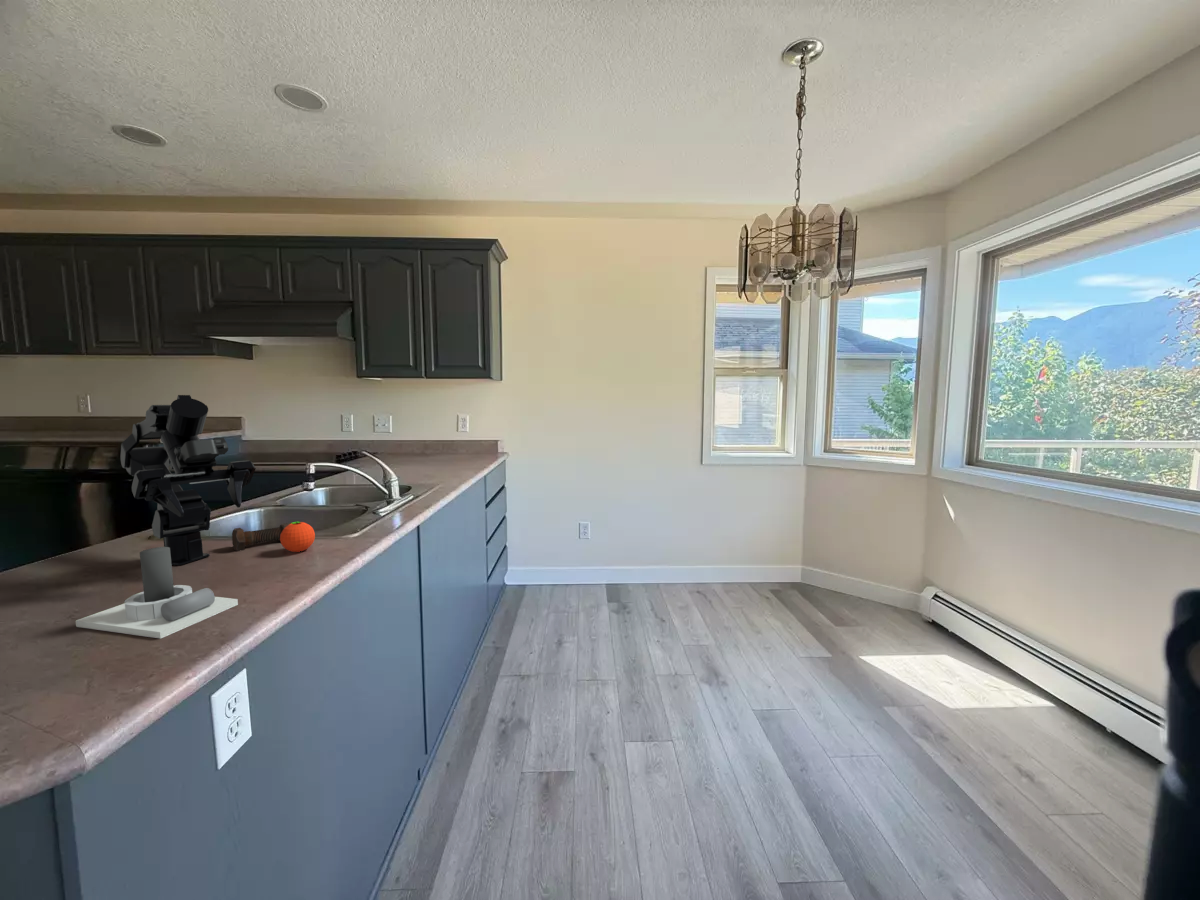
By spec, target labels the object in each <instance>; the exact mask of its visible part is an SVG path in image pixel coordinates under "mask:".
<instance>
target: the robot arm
mask: <svg viewBox="0 0 1200 900" xmlns="http://www.w3.org/2000/svg"><path fill="white" fill-rule="evenodd" d="M208 412H209V407H208V405H207V404H205V403H203V402H202V401H200V400H198V399H195V398H192V396H191V394H178V395H177V397H176V399H174V400H173V401H172V402H171V404H151V405H150V406H149V408H148V409H147V410H146V411H145V419H144V420H142V421H141V422H140V421H139V422H137V423H133V425H132V430H131V431H132V432H131V434H130V435H129V436H128V437H126V439H124V441H122V442H121V444H120V464H121V467H122V468H123V469H125V470H126V472H127V473H128V475H130V476H132V477H133V481H132V484H131V492H132V494H133V497H134V499H136V500H142V499H143V500H145V501H146V502H154V503H155V504H156V503H157V509H156V510H155V511H154V515H153V519H152V524H151V529H152V532H153V533H152V534H153V536H154V537H155V538H158V539H159V540H160V539H163V547H169V548H170V554H171V564H172V565H174V566H182V565H185V564H188V563H193V562H195V561H198V560H200V559H201V560H202V559H204V558H209V557H210V556H211V555H210V553H205V552H204V548H203V539H202V536H201V533H202V531H203V532H204V531H209V530H210V526H211V525H210V524H211V514H212V509H211V508H210V507H209V505H208V503H206V502H204V500H203V497H202V496H200V494H199V493H198V491H197V490H196V489H186V490H185V489H184V490H183V487H182V486H181V485H187V484H189V485H193V484H201V483H202V484H203V483H211V482H217V481H224V482H225V484H226V486H227V491H228V493H229V495H230V497H231V500H232V502H233V503H234V505H235V506H236V508H238V509H239V508H240V507H241V506H242V491H243V489H244V488H245V486H247V485H248V486H249V484H250V483H251V481H252V479H253V477H254V473H255V471H256V466H255V465H254V462H252V461H251V460H237V461H229V463H228V464H227V468H226V469H218V470H214V468H213V467H216V465H217V463H218V462H217V460H216V457H219V456H221V455H226V453H227V452H228V451H229V446H228V442H227V441H226V438H225V437H213V439H200V437H199V436H198V435H201V434H202V433H203V430H204V427H205V424H206V421H207V420H206V419H207V417H208ZM143 440H147V441H148V440H160V441H161V443H162V444H163V446H149V447H148V446H145V447H136V446H137V445H138V444H139V443H140V441H143ZM170 469H171V470H174V473H172V472H171V470H170Z"/></svg>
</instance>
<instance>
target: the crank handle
mask: <svg viewBox="0 0 1200 900" xmlns="http://www.w3.org/2000/svg"><path fill="white" fill-rule="evenodd" d="M139 560H140V570H141V579H142V586H143V587H142V588H143V592H144V600H145V602H155V601H159V600H163V599H168V598H171V597H173V596H175V595H174V577H173V576H174V575H173V566H172V564H171V554H170V548H169V547H164V546H159V547H158V546H157V547H152V548H148V549H147V548H146V549H144V550H141V551H140V552H139Z"/></svg>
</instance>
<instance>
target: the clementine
mask: <svg viewBox="0 0 1200 900" xmlns="http://www.w3.org/2000/svg"><path fill="white" fill-rule="evenodd" d="M315 539H316V534H315V530H314V528H313V526H311V525H310V524H308V523H307V522H304V521H294V522H289V525H288V526H286V527H285V528H284V529H283V531H282V533H281V535H280V540H279V541H280V544H281V546H282V547H283V548H284V549H285V550H287V551H290V552H293V553H300V551H301V552H303V551H305V550H307V549H309V548H311V546H312V545H313V544H314V541H315Z"/></svg>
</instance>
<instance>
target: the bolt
mask: <svg viewBox="0 0 1200 900" xmlns="http://www.w3.org/2000/svg"><path fill="white" fill-rule="evenodd" d="M289 524H290V522H289V523H288V522H286V523H284V522H283V523H281V524H280V525H279V527H273V528H272V527H271V528H264V529H257V530H248V531H247V530H246V531H245V530H244V529H243V528H241V527H237V528H235V527H234V529H233V530H232V533H231V541H232V542H231V543H232V547H233V550H234V549H235V550H234V551H235V552H239V551H240V550H241V551H244V550H245V547H247V546H251V545H256V544H262V543H268V542H275V541H280V535H281V533H282V531H283V529H284V528H285V527H286V526H288V525H289Z"/></svg>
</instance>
